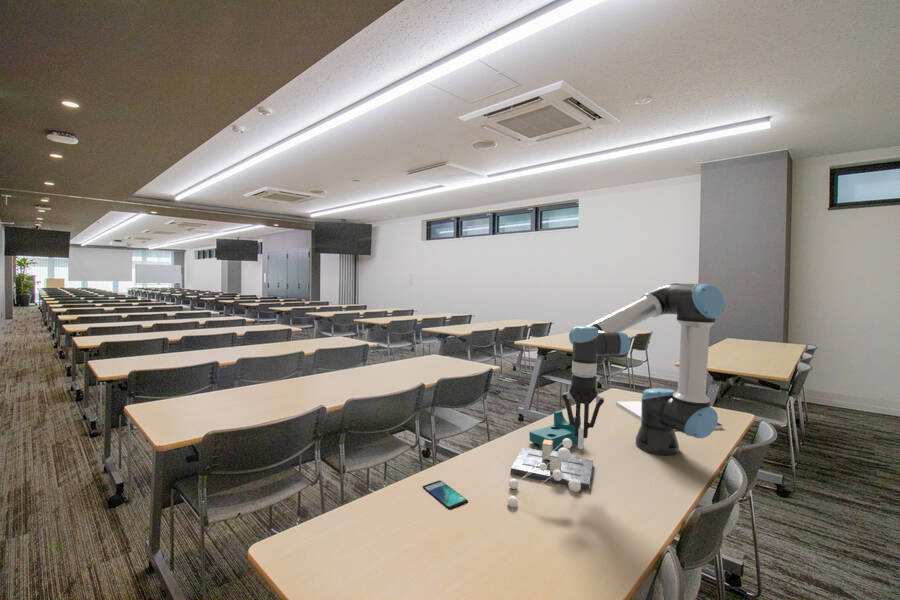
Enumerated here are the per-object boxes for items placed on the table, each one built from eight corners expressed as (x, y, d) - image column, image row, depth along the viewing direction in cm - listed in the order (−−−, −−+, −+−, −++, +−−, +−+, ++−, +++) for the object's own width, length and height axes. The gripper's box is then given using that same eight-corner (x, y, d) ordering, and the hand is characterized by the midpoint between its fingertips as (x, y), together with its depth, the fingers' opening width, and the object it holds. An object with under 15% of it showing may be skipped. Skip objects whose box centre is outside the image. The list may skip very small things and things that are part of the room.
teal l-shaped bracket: (560, 435, 168) (559, 410, 168) (581, 442, 159) (580, 416, 159) (529, 444, 158) (529, 418, 158) (550, 452, 149) (549, 425, 149)
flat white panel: (722, 424, 176) (658, 426, 173) (722, 430, 177) (657, 432, 173) (670, 400, 211) (615, 401, 208) (670, 405, 211) (615, 406, 208)
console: (592, 465, 139) (593, 460, 139) (589, 490, 123) (589, 484, 123) (522, 452, 149) (522, 447, 149) (510, 473, 133) (510, 467, 133)
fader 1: (552, 455, 142) (552, 440, 141) (550, 460, 138) (551, 445, 138) (544, 453, 143) (544, 439, 143) (542, 458, 139) (542, 443, 139)
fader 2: (560, 468, 132) (561, 452, 132) (559, 473, 129) (559, 457, 128) (551, 466, 134) (552, 450, 133) (549, 471, 130) (550, 455, 130)
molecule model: (589, 509, 117) (599, 461, 111) (508, 516, 114) (513, 468, 108) (570, 472, 130) (578, 428, 124) (496, 478, 127) (500, 433, 121)
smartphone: (440, 479, 128) (469, 500, 115) (440, 481, 128) (469, 503, 115) (421, 486, 123) (449, 508, 111) (421, 488, 123) (449, 511, 111)
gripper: (606, 374, 127) (602, 446, 128) (564, 370, 132) (561, 439, 133) (605, 379, 120) (601, 455, 121) (561, 374, 125) (558, 447, 126)
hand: (580, 446), depth 127 cm, fingers closed
